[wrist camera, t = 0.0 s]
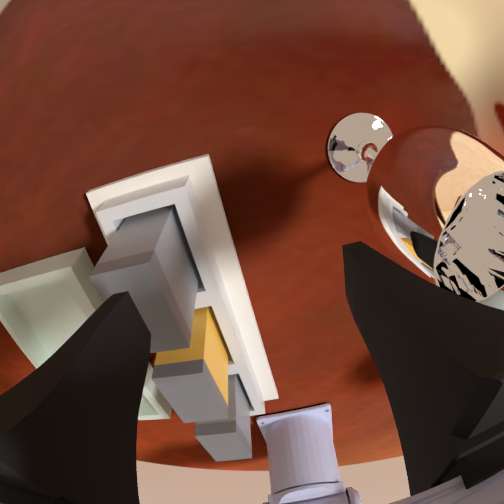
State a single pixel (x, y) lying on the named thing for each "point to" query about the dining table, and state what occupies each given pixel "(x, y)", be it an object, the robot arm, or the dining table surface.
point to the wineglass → (429, 199)
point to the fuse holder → (199, 257)
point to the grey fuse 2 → (229, 427)
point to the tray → (59, 313)
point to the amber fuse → (196, 372)
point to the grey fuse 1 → (153, 275)
